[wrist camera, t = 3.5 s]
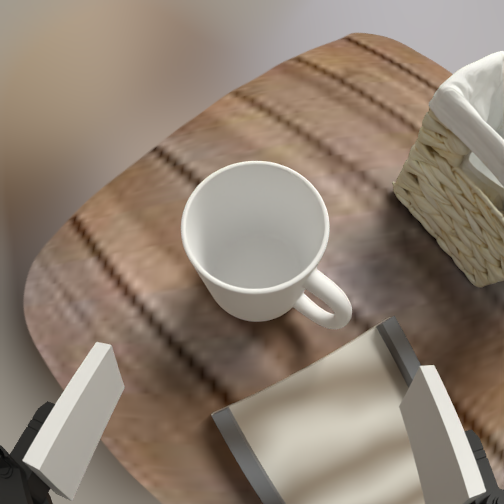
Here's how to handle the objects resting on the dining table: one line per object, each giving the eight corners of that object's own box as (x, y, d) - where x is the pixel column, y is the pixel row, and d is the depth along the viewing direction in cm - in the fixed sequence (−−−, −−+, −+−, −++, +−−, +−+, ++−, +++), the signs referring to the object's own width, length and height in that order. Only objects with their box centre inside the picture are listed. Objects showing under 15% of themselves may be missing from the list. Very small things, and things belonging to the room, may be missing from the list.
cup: (252, 213, 29) (248, 140, 19) (358, 296, 26) (407, 253, 16) (189, 279, 27) (151, 228, 17) (297, 373, 24) (320, 375, 14)
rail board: (461, 483, 18) (477, 489, 15) (317, 571, 16) (322, 587, 13) (383, 320, 25) (397, 313, 22) (214, 412, 22) (207, 417, 20)
